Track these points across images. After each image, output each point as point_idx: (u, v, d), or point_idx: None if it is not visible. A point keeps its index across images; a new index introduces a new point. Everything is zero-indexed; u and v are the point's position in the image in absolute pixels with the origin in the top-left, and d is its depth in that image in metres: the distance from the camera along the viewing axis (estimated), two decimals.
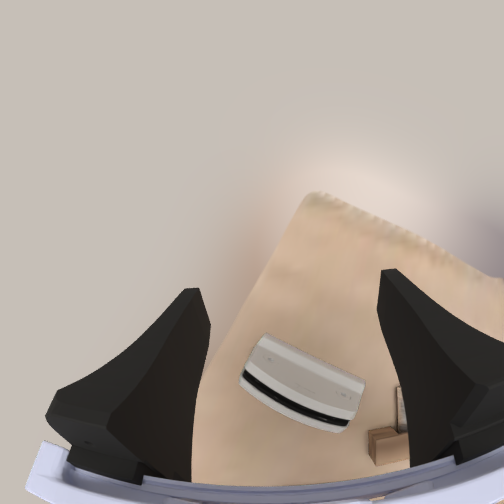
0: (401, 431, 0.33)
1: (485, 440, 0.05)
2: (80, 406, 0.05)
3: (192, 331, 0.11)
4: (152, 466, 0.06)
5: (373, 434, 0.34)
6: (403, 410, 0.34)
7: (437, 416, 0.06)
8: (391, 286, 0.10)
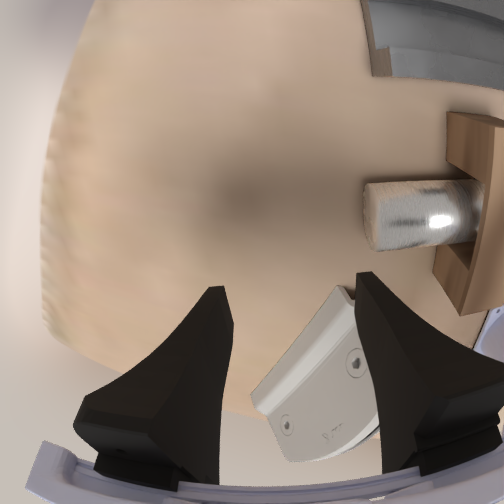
0: (460, 242, 0.17)
1: (452, 453, 0.05)
2: (115, 412, 0.05)
3: (219, 330, 0.11)
4: (187, 471, 0.06)
5: (444, 288, 0.19)
6: None
7: (403, 425, 0.06)
8: (364, 289, 0.10)
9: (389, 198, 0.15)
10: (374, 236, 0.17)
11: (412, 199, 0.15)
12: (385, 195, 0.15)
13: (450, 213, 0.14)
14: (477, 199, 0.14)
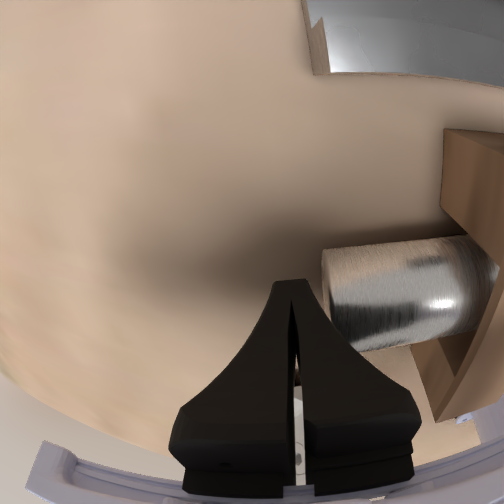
0: None
1: (349, 478, 0.05)
2: (235, 422, 0.05)
3: (292, 325, 0.10)
4: (290, 474, 0.06)
5: (422, 377, 0.13)
6: None
7: None
8: (289, 297, 0.10)
9: (353, 279, 0.09)
10: None
11: (393, 278, 0.09)
12: (346, 273, 0.10)
13: (455, 296, 0.09)
14: (498, 268, 0.09)
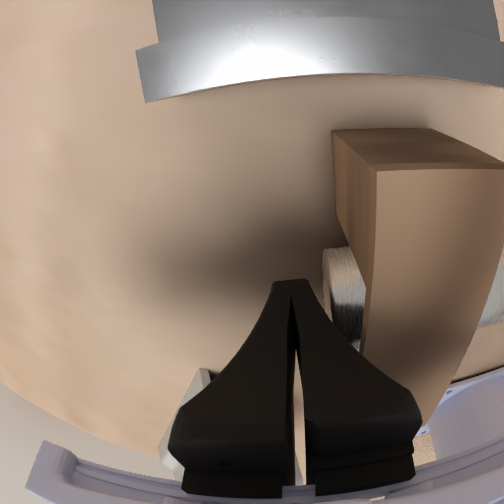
0: None
1: (350, 477, 0.05)
2: (234, 422, 0.05)
3: (292, 325, 0.10)
4: (289, 474, 0.06)
5: None
6: None
7: None
8: (290, 297, 0.10)
9: (354, 278, 0.09)
10: None
11: None
12: (347, 273, 0.10)
13: None
14: (499, 267, 0.09)
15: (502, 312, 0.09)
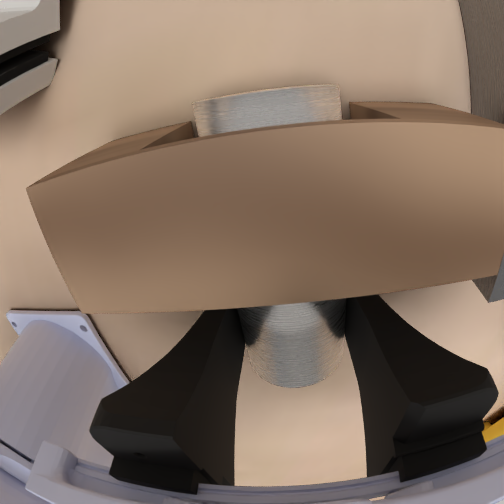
0: None
1: (433, 459, 0.05)
2: (136, 415, 0.05)
3: (233, 329, 0.10)
4: (207, 473, 0.06)
5: (85, 155, 0.08)
6: None
7: (383, 429, 0.06)
8: None
9: (335, 111, 0.07)
10: (233, 95, 0.07)
11: None
12: (337, 104, 0.07)
13: None
14: (336, 308, 0.10)
15: (282, 335, 0.09)
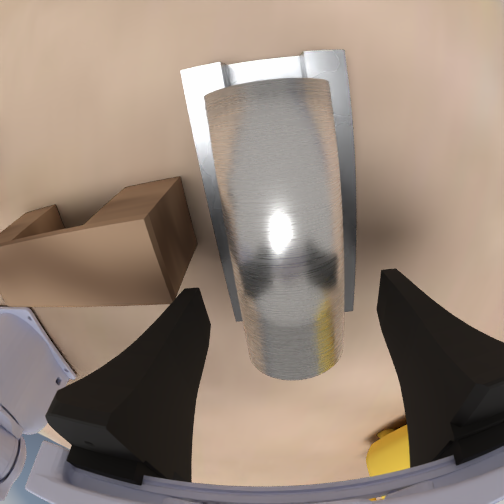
0: None
1: (485, 440, 0.05)
2: (80, 405, 0.05)
3: (192, 331, 0.11)
4: (152, 466, 0.06)
5: (7, 228, 0.15)
6: (221, 194, 0.09)
7: (437, 416, 0.06)
8: (391, 286, 0.10)
9: (322, 101, 0.08)
10: None
11: (325, 148, 0.08)
12: (325, 95, 0.08)
13: (307, 234, 0.09)
14: (330, 294, 0.10)
15: (275, 316, 0.10)
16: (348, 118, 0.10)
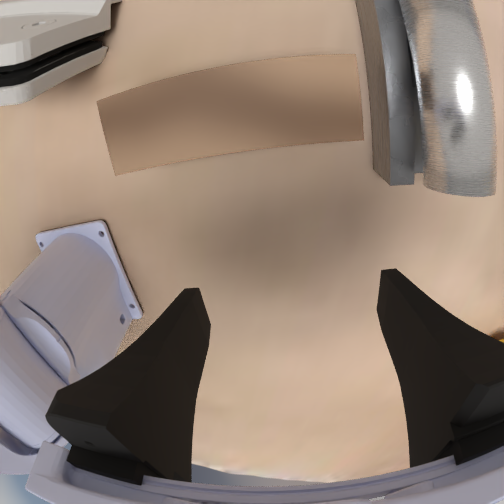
0: (430, 110, 0.11)
1: (485, 440, 0.05)
2: (80, 405, 0.05)
3: (192, 331, 0.11)
4: (152, 466, 0.06)
5: None
6: (426, 41, 0.09)
7: (437, 416, 0.06)
8: (391, 286, 0.10)
9: (474, 6, 0.07)
10: None
11: (480, 30, 0.08)
12: (473, 5, 0.08)
13: (484, 72, 0.08)
14: (494, 121, 0.10)
15: (471, 128, 0.10)
16: None
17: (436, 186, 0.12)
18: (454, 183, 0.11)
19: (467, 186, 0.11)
